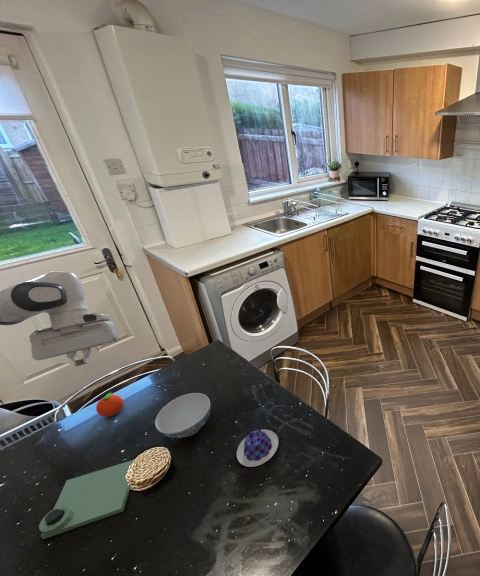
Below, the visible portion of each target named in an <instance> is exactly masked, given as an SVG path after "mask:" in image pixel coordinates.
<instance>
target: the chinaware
mask: <svg viewBox="0 0 480 576" xmlns="http://www.w3.org/2000/svg"><path fill="white" fill-rule="evenodd" d="M211 408H212V407H211V400H210V398H209V397H208V396H207V395H206V394H204V393H200V392H192V393H191V392H190V393H186V394H183V395H180V396H178V397H176V398H174V399H172V400H171V401H169V402H168V403H167V404H165V405H164V406H163V407H162V408H161V409H160V411H158V414H157V415H156V417H155V420H154V425H155V428H156V430H157V431H158V432H159V433H161V434H162V435H163V436H165V437H168V438H172V439H182V438H186V437H187V438H188V437H192V436H193V435H195V434H196V433H198V432H199V431H200V430H201V429H202V428H203V427H204V425H205V424H206V423H207V421H208V419H209V417H210V413H211Z"/></svg>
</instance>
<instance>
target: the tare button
mask: <svg viewBox="0 0 480 576" xmlns="http://www.w3.org/2000/svg"><path fill="white" fill-rule="evenodd" d="M52 510H53V509H52ZM52 510H51V512H50V511H49V512H50V513H49V512H48V513H49V514H48V513H47V514H48V515H47V514H46V515H47V516H46V515H45V516H46V518H45V521H46V522H47V523H48V524H49V525H53V524H55V523H57V522H58V521H60V520H61V518H62V517H63V515H64V514H63V512H62V511H61V510H60V509H55V510H53V511H52Z"/></svg>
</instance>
